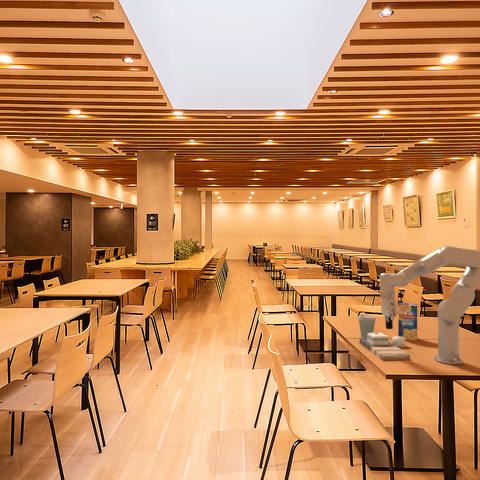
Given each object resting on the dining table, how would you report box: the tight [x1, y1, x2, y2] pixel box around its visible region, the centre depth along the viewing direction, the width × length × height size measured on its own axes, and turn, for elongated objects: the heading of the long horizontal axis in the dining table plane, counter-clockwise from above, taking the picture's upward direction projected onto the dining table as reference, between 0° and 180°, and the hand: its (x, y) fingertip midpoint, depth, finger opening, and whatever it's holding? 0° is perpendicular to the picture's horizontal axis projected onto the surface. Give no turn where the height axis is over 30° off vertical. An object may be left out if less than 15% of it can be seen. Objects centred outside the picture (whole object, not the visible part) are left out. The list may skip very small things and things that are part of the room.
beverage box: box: [397, 302, 418, 342], centre depth 236 cm, size 7×11×22 cm, turn 66°
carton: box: [367, 331, 389, 345], centre depth 218 cm, size 8×9×6 cm
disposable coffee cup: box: [357, 313, 376, 339], centre depth 236 cm, size 11×11×15 cm
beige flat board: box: [359, 338, 411, 361], centre depth 211 cm, size 32×15×2 cm, turn 2°
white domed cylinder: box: [391, 335, 406, 349], centre depth 221 cm, size 7×7×5 cm
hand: (389, 328), depth 205 cm, fingers closed
